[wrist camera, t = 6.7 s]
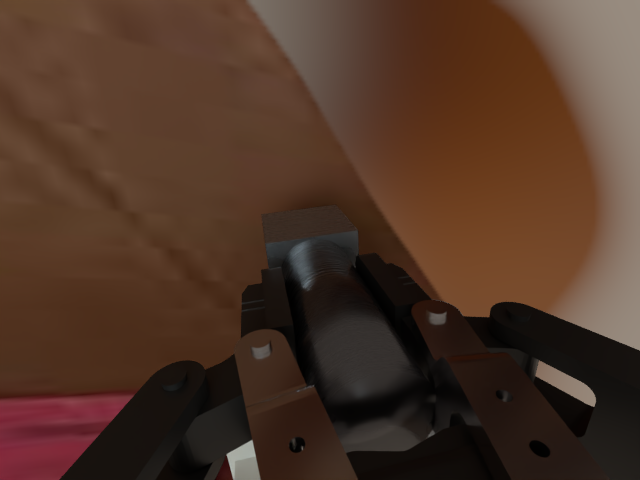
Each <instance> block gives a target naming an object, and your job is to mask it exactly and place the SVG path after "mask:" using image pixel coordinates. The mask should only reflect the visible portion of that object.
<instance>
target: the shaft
mask: <svg viewBox="0 0 640 480" xmlns="http://www.w3.org/2000/svg"><path fill="white" fill-rule="evenodd" d="M261 215H262V222H263V230H264V238H265V245H266V252H267V259H268V265H269V269H270V268H277V267H281V269H282V274H283V278H284V283H285V288H286V292H287V297H288V302H289V306H290V311H291V316H292V321H293V326H294V334H295V343H296V351H297V352H296V357H297V364H298V367H299V369H300V371H301V374H302V376H303V378H304V380H305V383H306V385H310V384H312V385H313V386H314V387H315V389H316V391H317V393H318V395H319V397H320V399H321V402H322V404H323V406H324V408H325V410H326V412H327V414H328V416H329V419H330V421H331V423H332V425H333V427H334V429H335V431H336V433H337V436H338V438H339V440H340V442H341V444H342V446H343V448H344V451H345V453H347V452H351V451H406V450H408V449H410V448H412V447H414V446H415V445H417V444H419V443H420V442H422V441H424V440H425V439H426V438H427V437H428V435H429V434H430V433H431V431H432V430H433V422H434V411H435V401H436V391H435V390H434V388H433V386H432V385H431V383H430V382H429V380H428V379H427V377H426V376H425V374H424V373H423V371H422V370H421V368H420V366H419V365H418V363H417V362H416V360H415V359H414V357H413V356H412V354H411V353H410V351H409V350H408V348H407V347H406V345H405V344H404V342H403V340H402V339H401V337H400V336H399V334H398V333H397V331H396V330H395V328H394V327H393V325H392V324H391V322H390V321H389V319H388V317H387V316H386V314H385V313H384V311H383V310H382V308H381V307H380V305H379V304H378V302H377V301H376V299H375V298H374V296H373V294H372V293H371V291H370V290H369V288H368V287H367V285H366V284H365V282H364V281H363V279H362V278H361V276H360V275H359V273H358V271H357V270H356V268H355V259H356V256H358V255H359V248H358V230H357V229H356V228H355V226H354V225H353V224H352V223H351V222H350V221H349V219H348V218H347V217H346V216H345V215H344V214H343V213H342V211H341V210H340V209H339V208H338V207H337V206H336V205H330V206H322V207H314V208H307V209H299V210H291V211H284V212H276V213H268V214H261Z"/></svg>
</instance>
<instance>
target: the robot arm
mask: <svg viewBox="0 0 640 480" xmlns="http://www.w3.org/2000/svg"><path fill="white" fill-rule="evenodd" d="M355 268H356V270H357V271H358V273H359V275H360V276H361V278H362V279H363V281H364V282H365V284H366V285H367V287H368V288H369V290H370V291H371V293H372V294H373V296H374V298H375V299H376V301H377V302H378V304H379V305H380V307H381V308H382V310H383V311H384V313H385V314H386V316H387V317H388V319H389V321H390V322H391V324H392V325H393V327H394V328H395V330H396V331H397V333H398V334H399V336H400V337H401V339H402V340H403V342H404V344H405V345H406V347H407V348H408V350H409V351H410V353H411V354H412V356H413V357H414V359H415V360H416V362H417V363H418V365H419V366H420V368H421V370H422V371H423V373H424V374H425V376H426V377H427V379H428V380H429V382H430V383H431V385H432V386H433V388H434V390H435V391H436V401H435V411H434V422H433V430H432V431H431V433H430V434H429V435H428V437H427V439H425V440H424V441H422V442H420V443H419V444H417V445H415V446H414V447H412V448H410V449H408V450H406V451H351V452H347V453H345V451H344V448H343V446H342V444H341V442H340V440H339V438H338V436H337V433H336V431H335V429H334V427H333V425H332V423H331V421H330V419H329V416H328V414H327V412H326V410H325V408H324V406H323V404H322V402H321V399H320V397H319V395H318V393H317V391H316V389H315V387H314V386H313V385H312V384H310V385H306V383H305V380H304V378H303V376H302V374H301V371H300V369H299V367H298V364H297V357H296V352H297V351H296V343H295V334H294V326H293V321H292V316H291V311H290V306H289V302H288V297H287V292H286V288H285V283H284V278H283V274H282V269H281V267H277V268H270V269H264V270H261V273H262V283H261V284H254V285H248V286H247V288H246V289H245V291H244V292H243V293H242V314H241V339H240V340H239V341H238V342H237V344H236V346H235V349H234V354H233V355H232V356H231V357H230V358H228V359H227V360H225V361H224V362H222V363H220V364H218V365H215V366H213V367H211V368H208V369H206V370H205V369H204V367H203V366H202V365H201V364H200V363H198V362H195V361H179V362H175V363H172V364H170V365H167V366H165V367H163V368H162V369H160V370H159V371H157V372H156V373H155V374H154V375H153V376H152V377H151V378H150V379H149V380H148V381H147V382H146V383H145V384H144V385H143V386H142V388H141V389H140V390H139V391H138V392H137V393H136V394H135V395H134V397H133V398H132V399H131V400H130V401H129V402H128V403H127V404H126V406H125V407H124V408H123V409H122V410H121V411H120V412H119V413H118V415H117V416H116V417H115V418H114V419H113V420H112V421H111V422H110V423H109V425H108V426H107V427H106V428H105V429H104V430H103V431H102V432H101V434H100V435H99V436H98V437H97V438H96V439H95V440H94V441H93V443H92V444H91V445H90V446H89V447H88V448H87V449H86V450H85V452H84V453H83V454H82V455H81V456H80V457H79V458H78V459H77V461H76V462H75V463H74V464H73V465H72V466H71V467H70V468H69V470H68V471H67V472H66V473H65V474H64V475H63V476H62V477H61V478H60V480H215V478H216V476H217V474H218V472H219V470H220V468H221V466H222V464H223V461H224V458H225V455H226V454H228V453H230V452H231V451H233V450H235V449H237V448H239V447H240V446H242V445H244V444H246V443H248V442H249V441H251V440H252V441H253V446H254V450H255V455H256V460H257V465H258V470H259V475H260V479H261V480H640V351H639V350H637V349H634V348H632V347H629V346H627V345H625V344H622V343H619V342H617V341H615V340H612V339H610V338H607V337H605V336H602V335H599V334H597V333H595V332H592V331H590V330H587V329H585V328H582V327H580V326H577V325H575V324H573V323H570V322H568V321H565V320H563V319H560V318H558V317H555V316H553V315H550V314H548V313H545V312H543V311H540V310H538V309H535V308H533V307H530V306H528V305H525V304H521V303H516V302H501V303H497V304H495V305H494V306H493V307H492V308H491V311H490V317H465V316H463V315H462V314H461V312H460V311H459V310H458V309H457V308H456V307H455V306H453V305H451V304H449V303H446V302H443V301H439V300H432V299H431V298H430V297H429V296H428V295H427V294H426V293H425V292H424V291H423V290H422V289H421V288H420V286H419V285H418V284H417V283H415V281H414V280H413V279H412V278H411V277H409V275H408V274H407V273H406V272H405V271H404V270H403V269H402V268H400V267H398V266H396V265H394V264H392V263H390V264H386V263H385V262H384V261H383V260H382V259H381V258H380V256H379V255H378V254H377V253H371V254H364V255H358V256H356V259H355ZM539 360H540V361H542V362H544V363H546V364H548V365H550V366H552V367H554V368H556V369H557V370H559V371H561V372H563V373H565V374H567V375H569V376H571V377H573V378H575V379H577V380H579V381H581V382H583V383H584V384H586V385H587V386H588V387H589V388H590V389H591V390H592V391H593V392H594V394H595V397H596V404H595V407H592V406H590V405H587V404H585V403H584V402H582V401H580V400H578V399H576V398H574V397H573V396H571V395H569V394H567V393H565V392H563V391H562V390H559V389H558V388H556V387H554V386H552V385H551V384H549V383H547V382H545V381H543V380H541V379H540V378H538V377H536V376H535V374H536V370H537V366H538V362H539Z"/></svg>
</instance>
